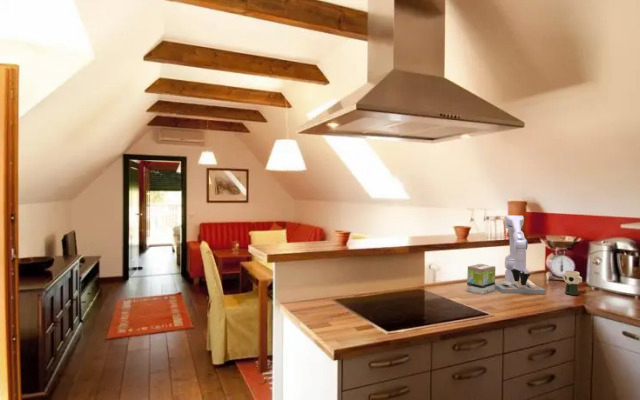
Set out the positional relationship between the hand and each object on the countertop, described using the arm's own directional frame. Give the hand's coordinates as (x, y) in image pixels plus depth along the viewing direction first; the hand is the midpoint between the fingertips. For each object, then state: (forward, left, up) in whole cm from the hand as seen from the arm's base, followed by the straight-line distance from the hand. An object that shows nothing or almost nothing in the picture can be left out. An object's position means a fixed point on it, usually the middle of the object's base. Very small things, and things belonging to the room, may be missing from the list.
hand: (520, 283), depth 207 cm
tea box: (-1, -22, -5) cm, 23 cm away
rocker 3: (-3, +7, -1) cm, 8 cm away
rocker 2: (-3, 0, -1) cm, 3 cm away
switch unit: (-3, 0, -5) cm, 6 cm away
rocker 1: (-3, -7, -1) cm, 8 cm away
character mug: (+3, +27, -5) cm, 28 cm away
